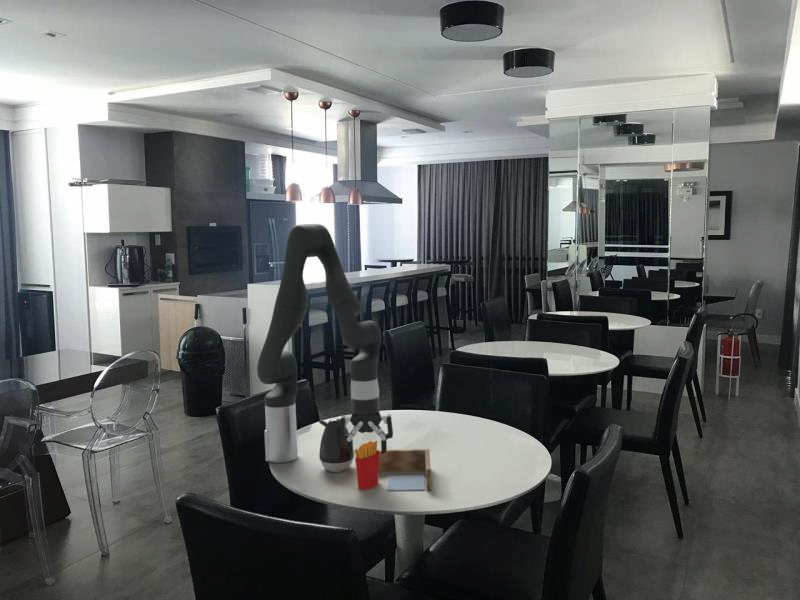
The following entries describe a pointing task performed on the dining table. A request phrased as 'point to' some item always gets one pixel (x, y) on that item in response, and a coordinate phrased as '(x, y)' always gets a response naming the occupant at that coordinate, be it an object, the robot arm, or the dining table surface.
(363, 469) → the french fries
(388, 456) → the wooden corner bracket
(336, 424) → the pump dispenser
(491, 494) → the dining table surface
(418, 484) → the mat
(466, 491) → the dining table surface
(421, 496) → the dining table surface
